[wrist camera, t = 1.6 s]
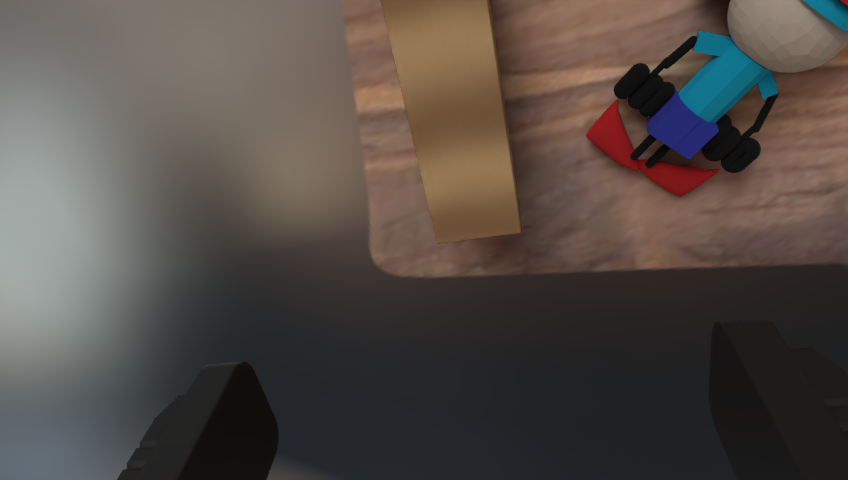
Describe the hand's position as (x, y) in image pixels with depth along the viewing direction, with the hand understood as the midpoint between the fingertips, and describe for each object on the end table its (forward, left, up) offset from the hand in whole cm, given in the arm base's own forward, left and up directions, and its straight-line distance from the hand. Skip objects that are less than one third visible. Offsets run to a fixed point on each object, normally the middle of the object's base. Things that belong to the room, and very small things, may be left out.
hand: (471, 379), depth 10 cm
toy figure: (+1, +11, -21) cm, 24 cm away
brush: (+1, -1, -21) cm, 21 cm away
